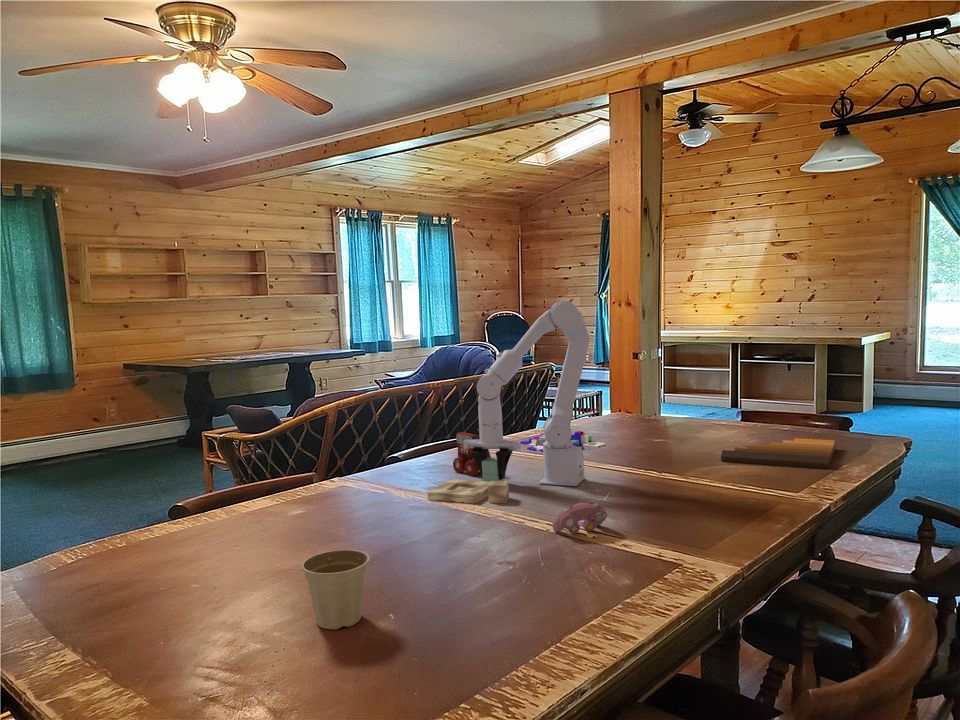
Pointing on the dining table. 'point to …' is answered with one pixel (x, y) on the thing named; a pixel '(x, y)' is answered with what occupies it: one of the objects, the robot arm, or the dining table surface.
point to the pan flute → (785, 453)
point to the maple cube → (498, 491)
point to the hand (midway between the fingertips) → (493, 478)
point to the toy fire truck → (466, 455)
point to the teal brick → (490, 470)
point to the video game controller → (579, 517)
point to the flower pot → (336, 586)
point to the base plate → (460, 491)
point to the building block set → (576, 439)
